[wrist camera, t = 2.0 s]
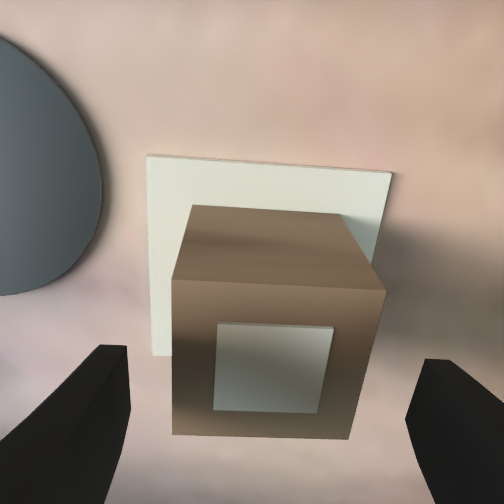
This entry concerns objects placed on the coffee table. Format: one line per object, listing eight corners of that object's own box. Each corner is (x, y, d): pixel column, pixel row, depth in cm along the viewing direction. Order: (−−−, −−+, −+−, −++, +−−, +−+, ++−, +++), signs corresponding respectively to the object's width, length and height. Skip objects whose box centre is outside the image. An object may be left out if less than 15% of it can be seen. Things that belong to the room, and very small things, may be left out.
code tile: (346, 358, 17) (348, 363, 17) (153, 350, 17) (152, 355, 17) (388, 171, 14) (392, 174, 14) (147, 154, 13) (145, 156, 13)
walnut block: (317, 332, 16) (349, 442, 12) (190, 326, 16) (171, 437, 11) (339, 213, 14) (387, 292, 10) (192, 204, 14) (170, 281, 9)
